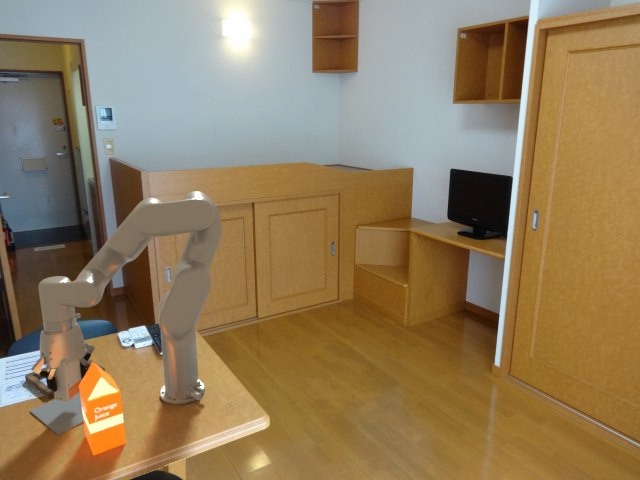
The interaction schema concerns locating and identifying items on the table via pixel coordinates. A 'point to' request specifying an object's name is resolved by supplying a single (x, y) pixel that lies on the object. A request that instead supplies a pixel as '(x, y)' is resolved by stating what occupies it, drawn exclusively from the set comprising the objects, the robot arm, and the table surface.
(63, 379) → the skincare box
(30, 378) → the brown square frame
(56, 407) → the rubber mat
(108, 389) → the orange juice
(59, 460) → the table surface
